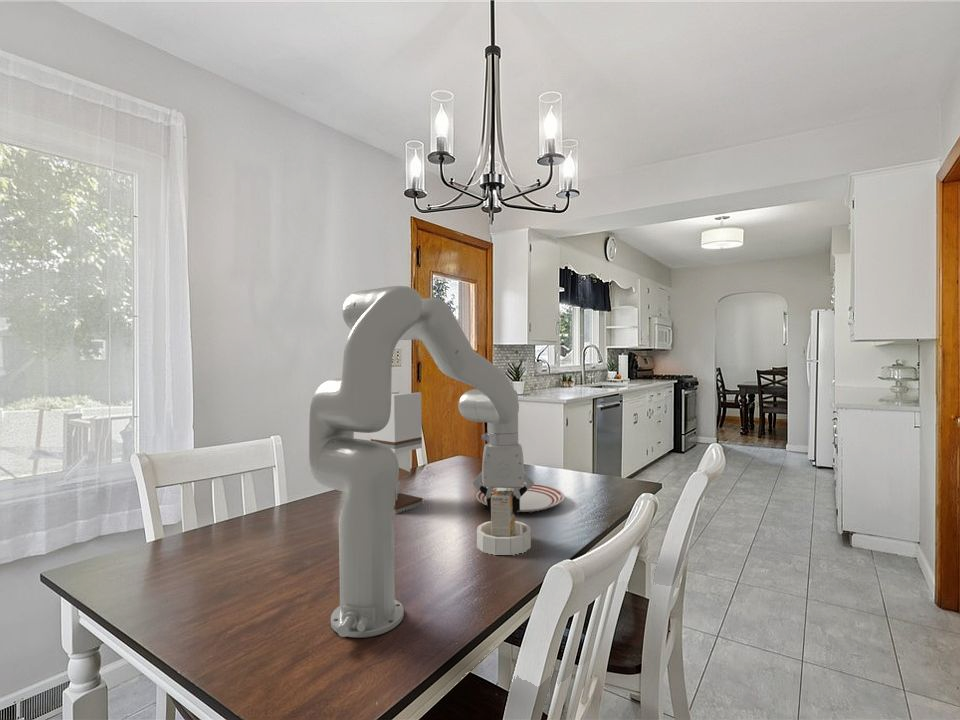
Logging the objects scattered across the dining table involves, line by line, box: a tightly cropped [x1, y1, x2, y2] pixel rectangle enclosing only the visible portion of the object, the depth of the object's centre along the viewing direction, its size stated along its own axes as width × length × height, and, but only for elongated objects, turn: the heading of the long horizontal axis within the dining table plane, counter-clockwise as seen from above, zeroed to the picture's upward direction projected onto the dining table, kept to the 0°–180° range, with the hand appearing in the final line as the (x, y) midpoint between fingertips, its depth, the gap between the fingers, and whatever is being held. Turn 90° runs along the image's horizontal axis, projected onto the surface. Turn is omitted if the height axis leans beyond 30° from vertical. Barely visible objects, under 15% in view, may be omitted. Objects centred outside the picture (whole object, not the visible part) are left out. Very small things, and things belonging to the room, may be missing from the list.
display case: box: [370, 390, 424, 515], centre depth 156 cm, size 11×11×35 cm
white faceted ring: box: [476, 520, 532, 556], centre depth 123 cm, size 13×13×4 cm
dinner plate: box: [475, 482, 566, 513], centre depth 157 cm, size 27×27×3 cm
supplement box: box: [490, 488, 516, 537], centre depth 123 cm, size 8×5×13 cm, turn 167°
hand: (503, 512), depth 123 cm, fingers closed on supplement box, 5 cm apart
